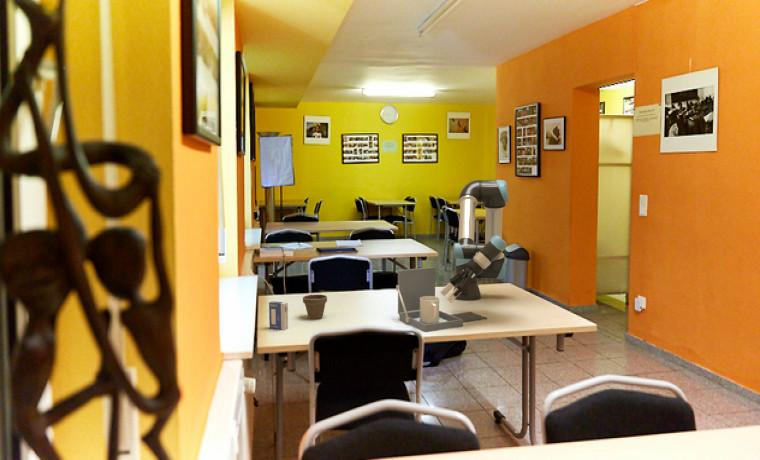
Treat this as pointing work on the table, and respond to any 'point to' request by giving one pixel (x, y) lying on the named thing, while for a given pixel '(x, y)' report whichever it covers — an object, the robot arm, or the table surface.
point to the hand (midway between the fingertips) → (445, 297)
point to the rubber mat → (469, 316)
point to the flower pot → (315, 305)
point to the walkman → (278, 315)
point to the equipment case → (409, 294)
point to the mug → (429, 309)
